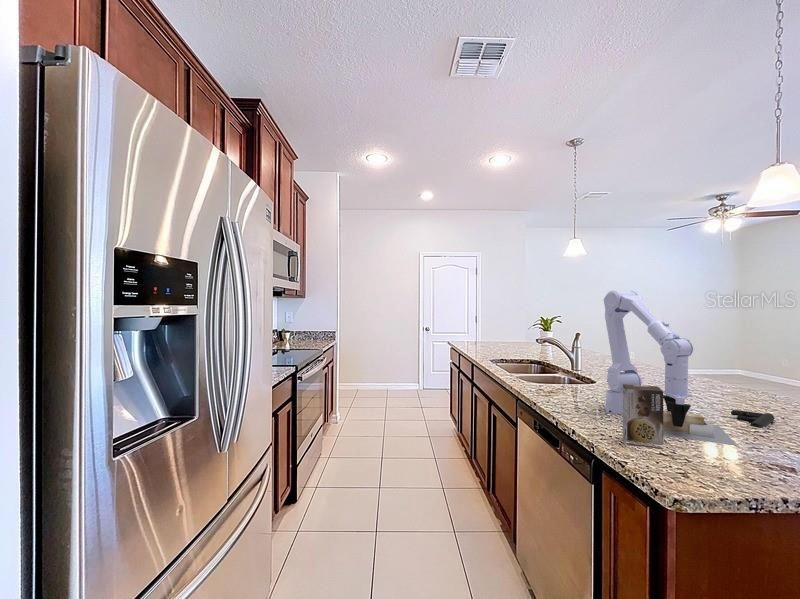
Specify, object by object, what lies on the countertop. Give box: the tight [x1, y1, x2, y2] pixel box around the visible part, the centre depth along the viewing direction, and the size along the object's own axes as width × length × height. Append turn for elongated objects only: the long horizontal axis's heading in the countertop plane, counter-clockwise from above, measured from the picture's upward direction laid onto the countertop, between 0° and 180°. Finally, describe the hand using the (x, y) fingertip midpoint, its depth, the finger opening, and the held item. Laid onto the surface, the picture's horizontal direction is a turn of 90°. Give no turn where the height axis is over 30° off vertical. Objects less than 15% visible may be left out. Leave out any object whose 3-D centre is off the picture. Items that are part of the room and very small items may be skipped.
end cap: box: [689, 420, 714, 438], centre depth 119 cm, size 6×6×3 cm
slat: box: [663, 410, 705, 433], centre depth 121 cm, size 14×3×5 cm, turn 64°
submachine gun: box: [721, 409, 776, 429], centre depth 135 cm, size 3×20×16 cm
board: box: [663, 423, 739, 447], centre depth 122 cm, size 20×20×2 cm
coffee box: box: [622, 384, 665, 450], centre depth 113 cm, size 9×6×16 cm
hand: (675, 422), depth 121 cm, fingers open, 7 cm apart
